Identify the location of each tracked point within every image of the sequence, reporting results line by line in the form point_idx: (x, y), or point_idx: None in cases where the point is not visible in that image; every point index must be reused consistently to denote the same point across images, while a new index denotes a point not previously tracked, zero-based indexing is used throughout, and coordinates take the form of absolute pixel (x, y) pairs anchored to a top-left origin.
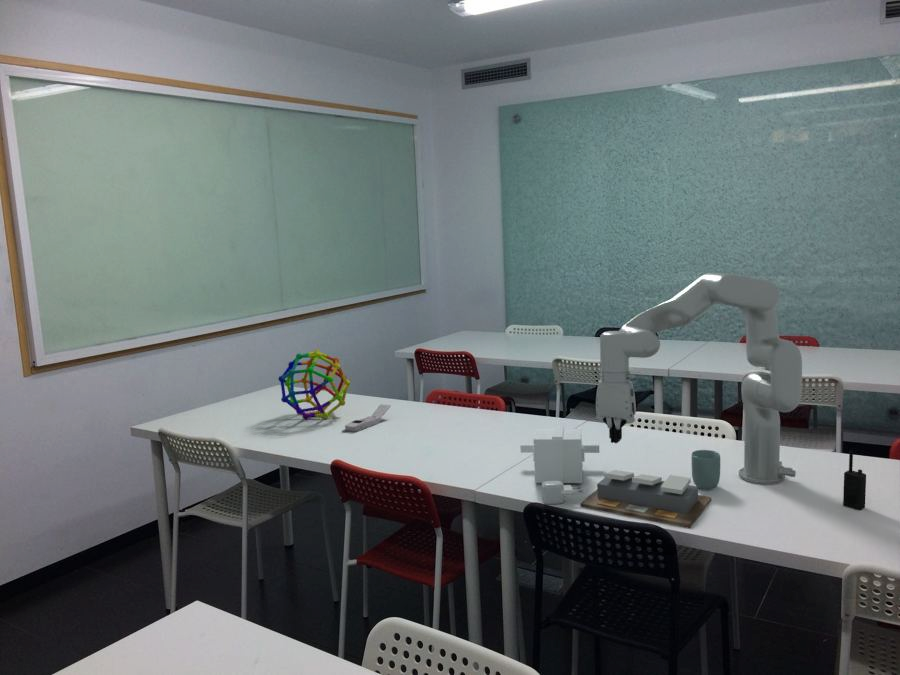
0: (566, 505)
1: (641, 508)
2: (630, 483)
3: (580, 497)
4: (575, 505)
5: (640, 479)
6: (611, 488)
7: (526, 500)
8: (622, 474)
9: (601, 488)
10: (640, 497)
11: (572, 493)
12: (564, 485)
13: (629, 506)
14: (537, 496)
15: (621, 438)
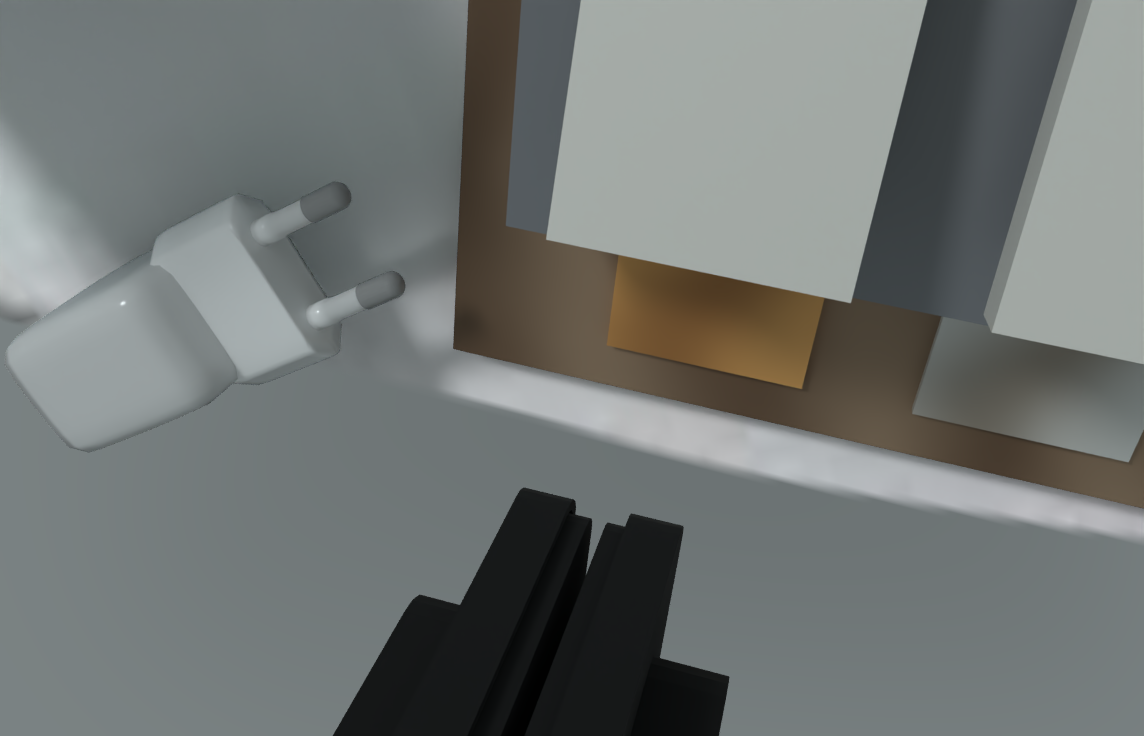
0: (345, 329)
1: (1096, 379)
2: (938, 99)
3: (377, 110)
4: (414, 312)
5: (1134, 358)
6: None
7: (20, 302)
8: (809, 159)
9: None
10: None
11: (334, 351)
12: (189, 266)
13: (952, 356)
14: (37, 197)
15: (727, 679)
